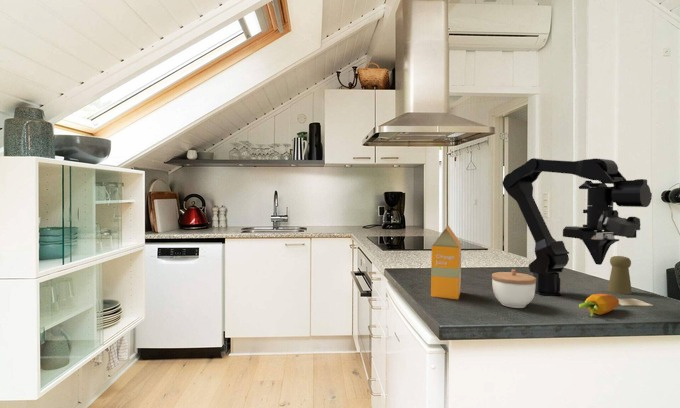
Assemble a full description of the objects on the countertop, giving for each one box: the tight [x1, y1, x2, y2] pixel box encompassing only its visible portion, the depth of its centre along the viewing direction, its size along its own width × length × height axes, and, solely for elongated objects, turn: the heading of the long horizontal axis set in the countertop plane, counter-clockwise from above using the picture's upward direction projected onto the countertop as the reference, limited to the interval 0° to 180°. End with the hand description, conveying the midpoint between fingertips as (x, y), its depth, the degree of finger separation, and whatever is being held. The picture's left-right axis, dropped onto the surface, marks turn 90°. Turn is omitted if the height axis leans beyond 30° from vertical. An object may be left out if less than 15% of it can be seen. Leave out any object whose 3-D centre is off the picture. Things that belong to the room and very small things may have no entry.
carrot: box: [578, 293, 620, 318], centre depth 92 cm, size 5×5×15 cm
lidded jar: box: [491, 269, 536, 309], centre depth 98 cm, size 11×11×9 cm
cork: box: [607, 255, 633, 296], centre depth 113 cm, size 6×6×11 cm
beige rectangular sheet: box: [617, 298, 654, 307], centre depth 101 cm, size 8×6×1 cm
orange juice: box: [430, 225, 462, 300], centre depth 108 cm, size 8×9×20 cm
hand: (598, 264), depth 98 cm, fingers closed
